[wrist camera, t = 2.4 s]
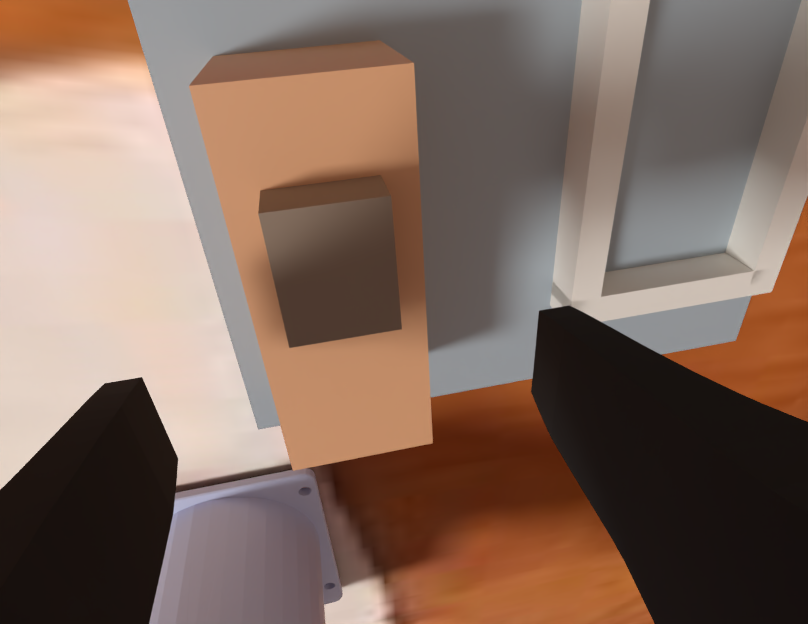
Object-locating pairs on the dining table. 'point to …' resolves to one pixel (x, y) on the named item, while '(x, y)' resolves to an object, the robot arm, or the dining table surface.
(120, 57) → the dining table surface
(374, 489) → the dining table surface
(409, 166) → the wooden block
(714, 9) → the jig
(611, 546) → the dining table surface
